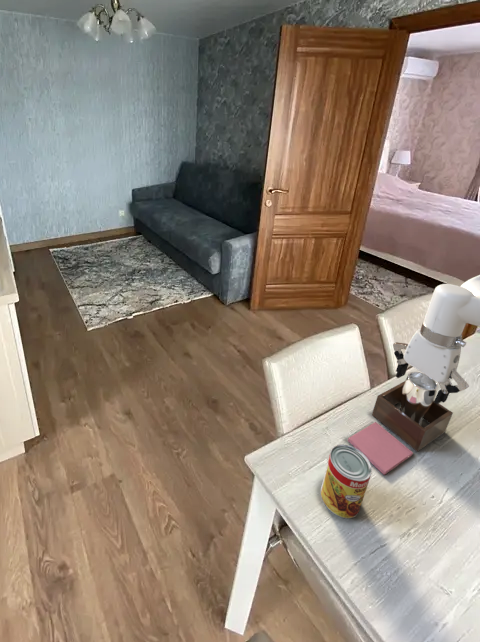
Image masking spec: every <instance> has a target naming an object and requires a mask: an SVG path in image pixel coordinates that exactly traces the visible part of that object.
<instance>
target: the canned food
mask: <svg viewBox="0 0 480 642" xmlns="http://www.w3.org/2000/svg"><path fill="white" fill-rule="evenodd" d="M372 473H373V467H372V463H371V462H370V461H369V460H368V459H367V457H366V456H365V455H364V454H363V453H362V452H360V451H359V450H358V449H356V448H355V447H354V446H353V445H349V444H344V443H341V444H336V445H334V446H333V447H332V448H331V450H330V452H329V456H328V460H327V464H326V467H325V471H324V474H323V475H324V476H323V479H322V483H321V487H320V496H321V500H322V502H323V504H324V505H325V506H326V508H327V509H328V510H329V511H330V512H331V513H332V514H334V515H335V516H337V517H340V518H341V519H353V518H355V517H357V515H358V514H359V512H360V510H361V507H362V504H363V501H364V498H365V494H366V491H367V489H368V485H369V483H370V480H371V477H372Z"/></svg>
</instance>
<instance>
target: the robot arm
mask: <svg viewBox="0 0 480 642" xmlns="http://www.w3.org/2000/svg"><path fill="white" fill-rule="evenodd" d="M424 315H425V316H424V318H423V321H422V324H421V327H419V328H417V330H416V331H415V332H414V333H413V335H412V337H411V338H410V340H409V342H408V343H404V342H398V341H397V342H394V343H392V347H393V351H394V352H393V354H394V356H395V358H396V363H397V366H396V370H395V372H396V374H395V377H396V378H397V379H399V378H402V377H403V376H405V375H406V373H407V371H408V368H409V365H410V366H411V367H412V368H414V369H415V370H418V372H420V373H424V374H425V375H427V376H429V377H430V378H432V379H433V380H435V381H436V382H437V384H438V386H439V387H440V389H439V390H437V393H436V397H435V401H434V402H435V403H436V404H440V403H445V402H446V401H447V400H448V398H449V396H450V394H457V393H460V392H462V391H464V390H467V389H468V388H469V387H470V385H469V383H468V382H467V381H466V380H465V379H464V378H463V376H462V375H461V374H460V373H459V372H458V371H457V370H458V367H459V363H460V359H461V354H462V348H464V347H465V346H467V341H464V340H463V338H462V337H463V331H464V329H465V328H466V325H467V324H470V325H473V326H476V327H479V328H480V274H479V275H476V276H473V277H471V278H469V279H467V280H466V281H464V282H463V283H462V284H461V285H457V284H452V283H442V284H439V285H437V286H435V288H434V290H433V293H432V295H431V298H430V300H429V303H428V307H427V309H426V312H425V314H424ZM402 350H404V352H403V351H402ZM451 380H454V381H455V383H456V384H457V385H453V384H452V383H453V382H452V381H451Z"/></svg>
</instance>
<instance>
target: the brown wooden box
mask: <svg viewBox="0 0 480 642" xmlns="http://www.w3.org/2000/svg"><path fill="white" fill-rule="evenodd" d="M404 383H405V380H404V381H402V382H400V383H398V384H397V385H395V386H393V387H391V388H389V389H388V390H385V391H384V392H382V393H381V394H379V395H377V397H376V399H375V403H374V406H373V410H372V412H371V416H373V418H375V419H376V420H377V421H378V422H380V423H381V424H382V425H383V426H385V427H386V428H387V429H388V430H390V431H391V432H393V434H395V435H396V436H397V437H399V438H400V439H401V440H402V441H404V442H405V443H406V444H407V445H408V446H410V447H411V448H412V449H413V450H415V451H416V452H419V451H420V450H422V449H423V448H425V447H426V446H427V445H429V444H431V443H432V442H433V441H435V440H436V439H437V438H439V437H440V436H442V435H443V434H444V433H446V431H447V428H448V426H449V423H450V421H451V419H452V417H453V414H454V412H453V411H451V410H449V409H448V408H447V407H445V406H443V405H442V404H440V403H439V404H436V403H435V402H433V405H432V406H431V408H430V409H429V411H428V412H427V413H426V414H425V416H424V417H423V419H422V420H424V421H426V422H427V423H428V425H426V426H424V427H423V426H422V425H421V426H420V425H419V424H418V423H416V422H415V421H414V420H412V419H411V418H410V417H408V416H407V415H406V414H404V413H403V412H402V411H400V410H399V409H400V408H398V407H396V405H397V404H399V403H401V393H402V388H403V385H404ZM434 401H435V400H434Z"/></svg>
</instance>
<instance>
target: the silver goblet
mask: <svg viewBox="0 0 480 642" xmlns="http://www.w3.org/2000/svg"><path fill="white" fill-rule="evenodd" d="M404 381H405V383H404V385H403V388H402V393H401V402H400V405H399V408H398V409H399V410H400V411H402V412H403V413H404V414H406V415H407V416H408V417H410V418H411V419H412V420H414V421H415V422H416V423H418V424H419V425H420V426H422V423H423V420H424V419H423V417H424V416H425V414H426V413H427V412H428V411H429V409H430V408H431V406H432V405H433V402H434V400H435V398H436V396H437V393H438V389H439V383H438V382H437V381H435V380H433V379H432V378H430V377H429V376H427V375H425V374H424V373H422V372H421V371H410V372H408V374H407V376H406V379H405V380H404Z"/></svg>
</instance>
